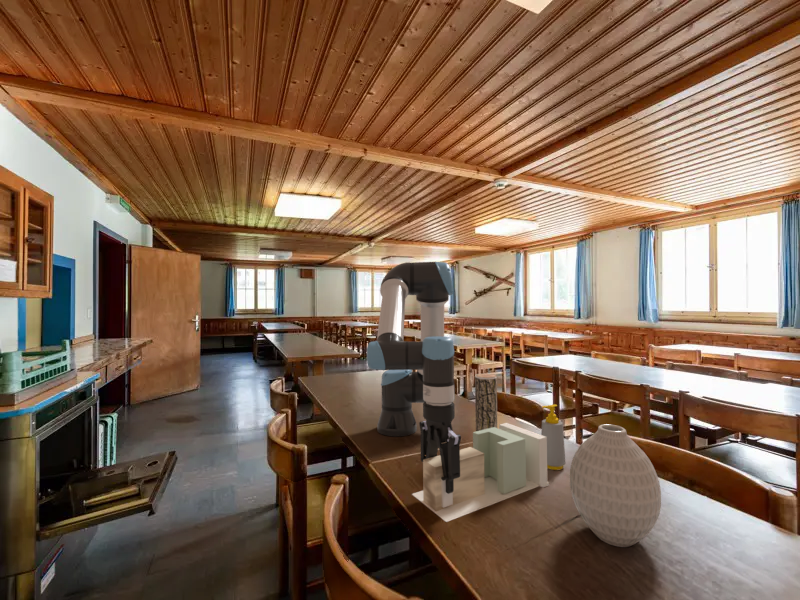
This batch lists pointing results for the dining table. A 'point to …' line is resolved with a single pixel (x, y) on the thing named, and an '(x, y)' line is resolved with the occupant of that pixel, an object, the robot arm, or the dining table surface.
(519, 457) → the socket block
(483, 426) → the bark log
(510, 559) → the dining table surface
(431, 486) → the beige wooden block
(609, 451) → the vase
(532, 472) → the track
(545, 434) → the soap bottle
